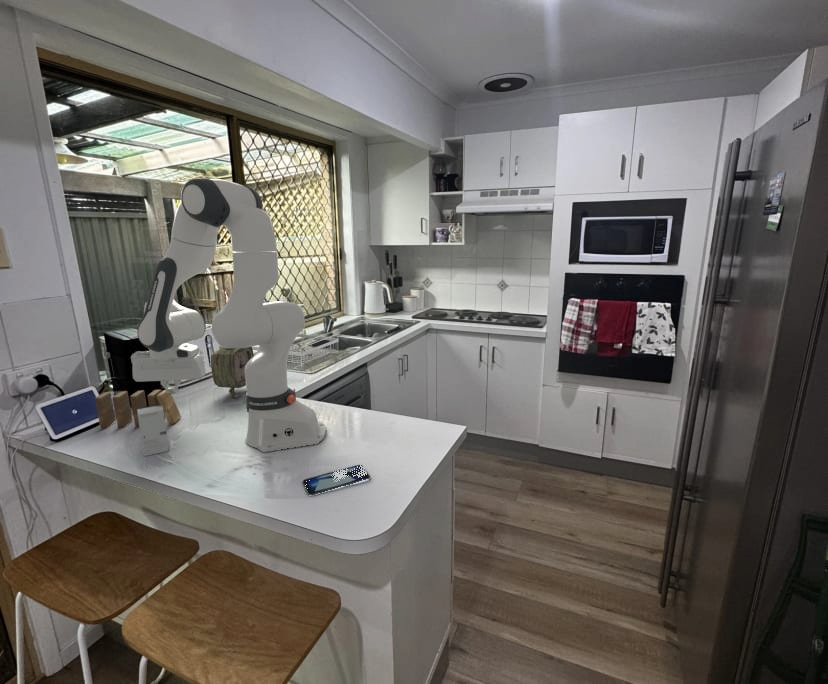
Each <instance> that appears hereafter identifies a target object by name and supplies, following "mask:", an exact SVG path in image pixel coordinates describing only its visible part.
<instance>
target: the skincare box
mask: <svg viewBox="0 0 828 684" xmlns="http://www.w3.org/2000/svg"><path fill="white" fill-rule="evenodd" d="M137 412H138V420H139V434H140V441H141V445H142V446H141V448H142V454H143V456H144V457H146V456H152V455H157V454H161V453H165V452H168V451H169V443H168V435H167V429H166V419H164V411H163V406H162V405H161V406H155V407H149V406H147V408H143V409H138V410H137Z"/></svg>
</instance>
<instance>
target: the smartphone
mask: <svg viewBox="0 0 828 684" xmlns="http://www.w3.org/2000/svg"><path fill="white" fill-rule="evenodd" d="M360 465H361V466H362V467H364V466H363V464H356V465H352V466H348V467H345V469H344V468H342V469H343V470H345V471H346V468H347V469H348V470H347V474H345V475H347V476H348V475H349V476H348V477H347V476H346V477H344V478H345V479H344V478H343V477H342V478H343V479H342V478H341V479H339V480H340V481H339V480H338V479H337V478H338V477H336V478H335V479H334V476H335V475H334V476H333V473H334V472H335V471H336V472H337V470H334V472H333V471H330V472H327V473H321V474H318V475H315V476H312V477H308V478H304V479H303V480H302V481H301V483H303V484H302V485H304V486H303V488H304V487H306V488H304V489H306V490H305V492H307V493H306V495H307V494H308V495H315V494H318V493H322V492H325V491H328V490H332V489H335V488H338V487H341V486H346V485H350V484H353V483H356V482H359V481H362V479H363V480H366V479H369V478H370V479H371V475H370V474H369V472H368V471H367V470H366V468H365V469H364V471H365V470H366V472H367V475H366V474H365V476H364V475H363V476H361V474H360V476H361V477H362V478H361V477H359V478H358V476H357V475H356V474H358V472H360V471H361V470H360V469H361V467H360ZM357 466H358V468H357ZM359 467H360V469H359ZM354 468H355V470H354ZM340 469H341V468H340ZM340 469H338V470H339V472H340ZM342 469H341V470H342ZM356 469H357V470H356ZM352 470H353V471H352ZM358 470H359V471H358ZM362 470H363V468H362ZM350 471H351V472H350ZM354 471H355V472H354ZM356 471H357V473H356ZM341 472H342V471H341ZM352 472H353V473H352ZM362 472H363V471H362ZM337 473H338V472H337ZM343 473H344V472H343ZM345 473H346V472H345ZM354 473H355V474H354ZM360 473H361V472H360ZM364 473H365V472H364ZM334 474H335V473H334ZM339 474H340V473H339ZM352 474H353V475H356V476H354V477H353V475H352ZM362 474H363V473H362ZM331 475H332V476H333V477H332V476H331ZM343 475H344V474H343ZM358 475H359V474H358ZM333 479H334V480H333ZM336 479H337V480H338V481H337V480H336ZM309 480H310V481H309ZM335 480H336V481H337V482H336V481H335ZM306 481H307V482H306ZM334 481H335V482H334ZM306 484H307V485H306ZM305 485H306V486H305ZM307 488H308V489H307ZM308 495H307V496H308ZM315 496H316V495H315Z"/></svg>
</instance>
